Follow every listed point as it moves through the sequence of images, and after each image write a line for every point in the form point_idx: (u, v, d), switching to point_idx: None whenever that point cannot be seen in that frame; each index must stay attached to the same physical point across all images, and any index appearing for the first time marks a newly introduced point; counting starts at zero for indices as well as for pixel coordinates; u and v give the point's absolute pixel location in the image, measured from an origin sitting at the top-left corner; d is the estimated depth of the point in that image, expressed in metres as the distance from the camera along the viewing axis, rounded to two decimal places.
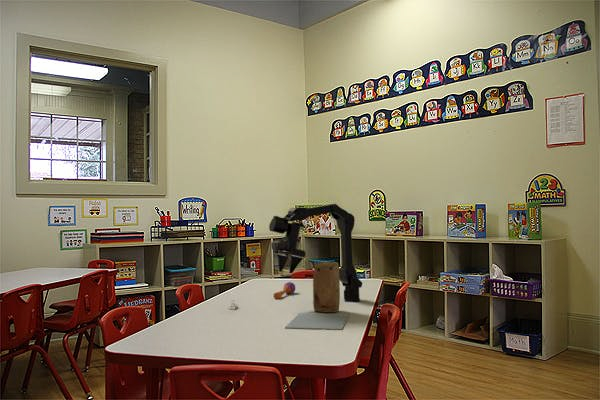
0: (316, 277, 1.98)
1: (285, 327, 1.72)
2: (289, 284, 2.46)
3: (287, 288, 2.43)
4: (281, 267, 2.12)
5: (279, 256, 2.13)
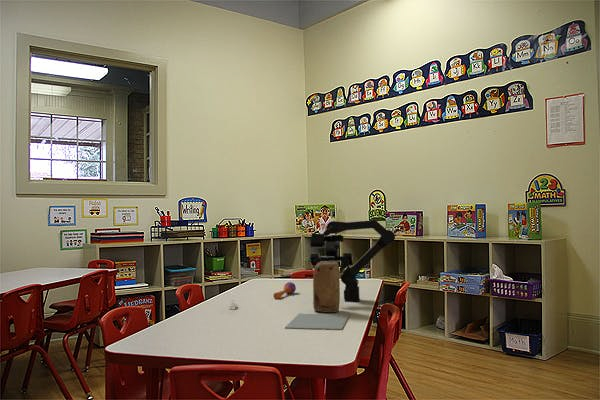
0: (316, 277, 1.98)
1: (285, 327, 1.72)
2: (289, 284, 2.46)
3: (287, 288, 2.43)
4: None
5: (320, 260, 2.17)
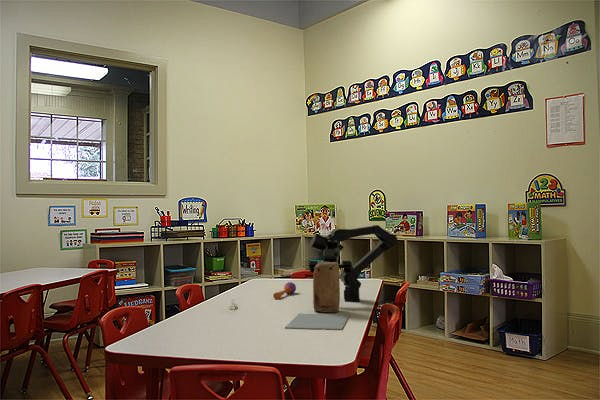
0: (316, 277, 1.98)
1: (285, 327, 1.72)
2: (289, 284, 2.46)
3: (287, 288, 2.43)
4: None
5: None
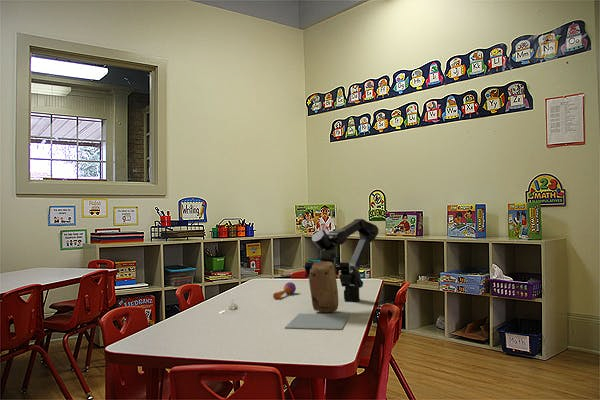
0: (312, 282, 1.93)
1: (285, 327, 1.72)
2: (289, 284, 2.46)
3: (287, 288, 2.43)
4: None
5: None
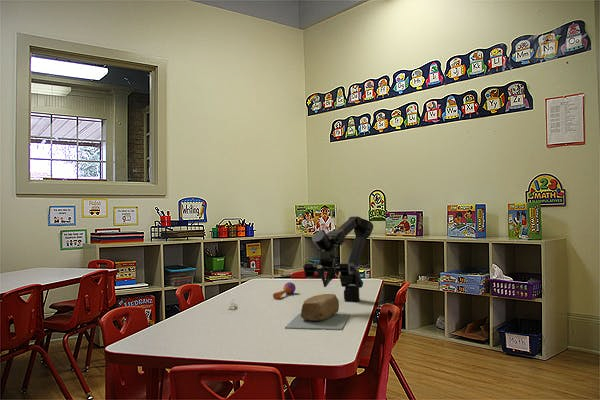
0: None
1: (285, 327, 1.72)
2: (289, 284, 2.46)
3: (287, 288, 2.43)
4: None
5: (324, 271, 2.01)
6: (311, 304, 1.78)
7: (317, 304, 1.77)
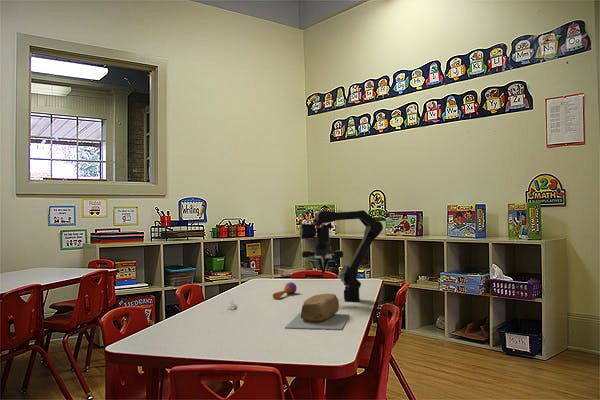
0: None
1: (285, 327, 1.72)
2: (290, 284, 2.45)
3: (287, 288, 2.42)
4: (323, 269, 2.21)
5: (321, 259, 2.20)
6: (311, 305, 1.78)
7: (317, 305, 1.77)
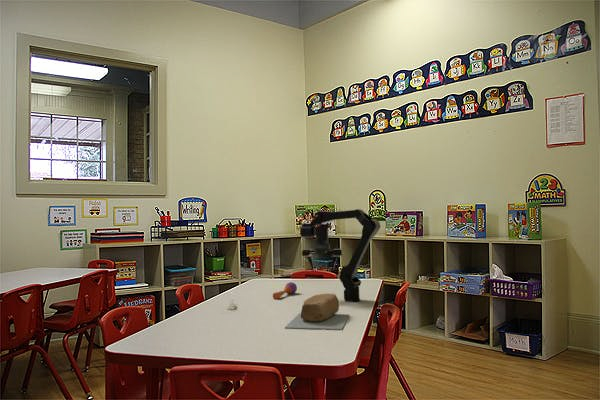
0: None
1: (285, 327, 1.72)
2: (290, 284, 2.45)
3: (288, 288, 2.42)
4: (313, 266, 2.32)
5: (311, 257, 2.31)
6: (311, 305, 1.78)
7: (317, 305, 1.77)
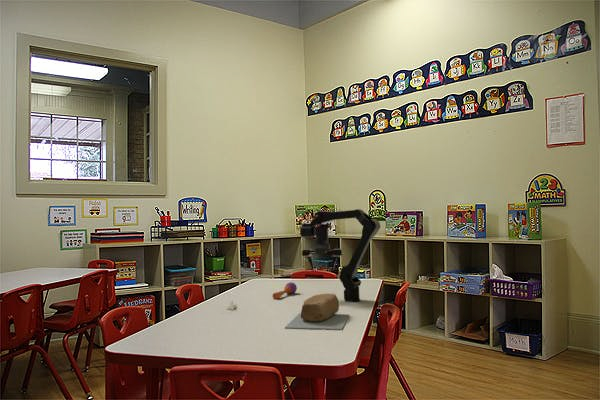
0: None
1: (285, 327, 1.72)
2: (290, 284, 2.45)
3: (287, 288, 2.42)
4: (313, 266, 2.32)
5: (311, 257, 2.31)
6: (311, 305, 1.78)
7: (317, 305, 1.77)
